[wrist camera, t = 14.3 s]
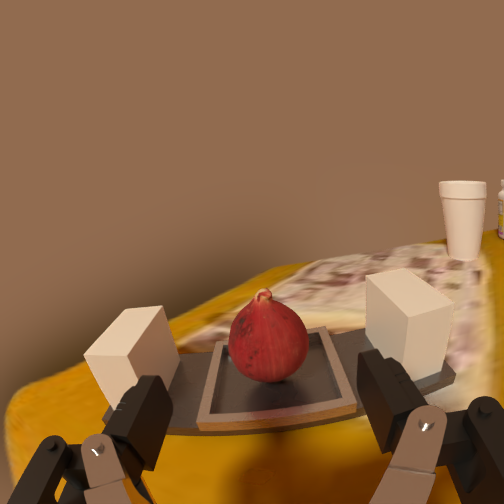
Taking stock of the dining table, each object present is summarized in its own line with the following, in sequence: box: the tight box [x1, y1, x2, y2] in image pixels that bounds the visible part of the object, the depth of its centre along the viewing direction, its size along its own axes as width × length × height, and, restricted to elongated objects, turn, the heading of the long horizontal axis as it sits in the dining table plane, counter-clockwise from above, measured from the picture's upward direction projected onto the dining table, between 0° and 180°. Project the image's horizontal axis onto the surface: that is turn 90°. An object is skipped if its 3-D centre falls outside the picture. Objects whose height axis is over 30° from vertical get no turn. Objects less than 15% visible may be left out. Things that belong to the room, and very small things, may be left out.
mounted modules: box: [84, 268, 455, 410], centre depth 20 cm, size 26×8×6 cm, turn 89°
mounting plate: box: [102, 326, 456, 436], centre depth 20 cm, size 28×11×2 cm, turn 89°
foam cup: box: [439, 181, 487, 261], centre depth 37 cm, size 10×9×13 cm
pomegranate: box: [228, 288, 309, 383], centre depth 19 cm, size 6×6×8 cm
